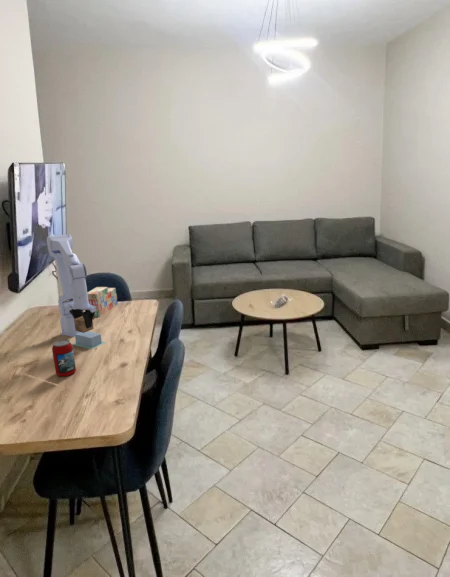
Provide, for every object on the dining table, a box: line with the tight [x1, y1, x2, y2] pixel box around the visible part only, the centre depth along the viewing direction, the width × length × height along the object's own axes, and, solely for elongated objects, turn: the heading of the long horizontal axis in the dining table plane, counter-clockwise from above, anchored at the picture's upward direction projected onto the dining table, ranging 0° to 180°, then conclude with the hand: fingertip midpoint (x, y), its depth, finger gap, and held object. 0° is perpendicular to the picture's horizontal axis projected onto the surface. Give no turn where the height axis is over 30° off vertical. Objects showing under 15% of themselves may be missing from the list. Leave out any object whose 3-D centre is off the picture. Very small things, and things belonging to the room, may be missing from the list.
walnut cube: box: [74, 316, 95, 333], centre depth 176 cm, size 5×5×5 cm
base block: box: [74, 331, 102, 347], centre depth 180 cm, size 10×5×4 cm, turn 57°
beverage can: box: [51, 339, 77, 378], centre depth 153 cm, size 7×7×12 cm
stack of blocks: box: [87, 286, 118, 318], centre depth 225 cm, size 21×6×12 cm, turn 169°
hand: (84, 326), depth 176 cm, fingers closed on walnut cube, 5 cm apart
